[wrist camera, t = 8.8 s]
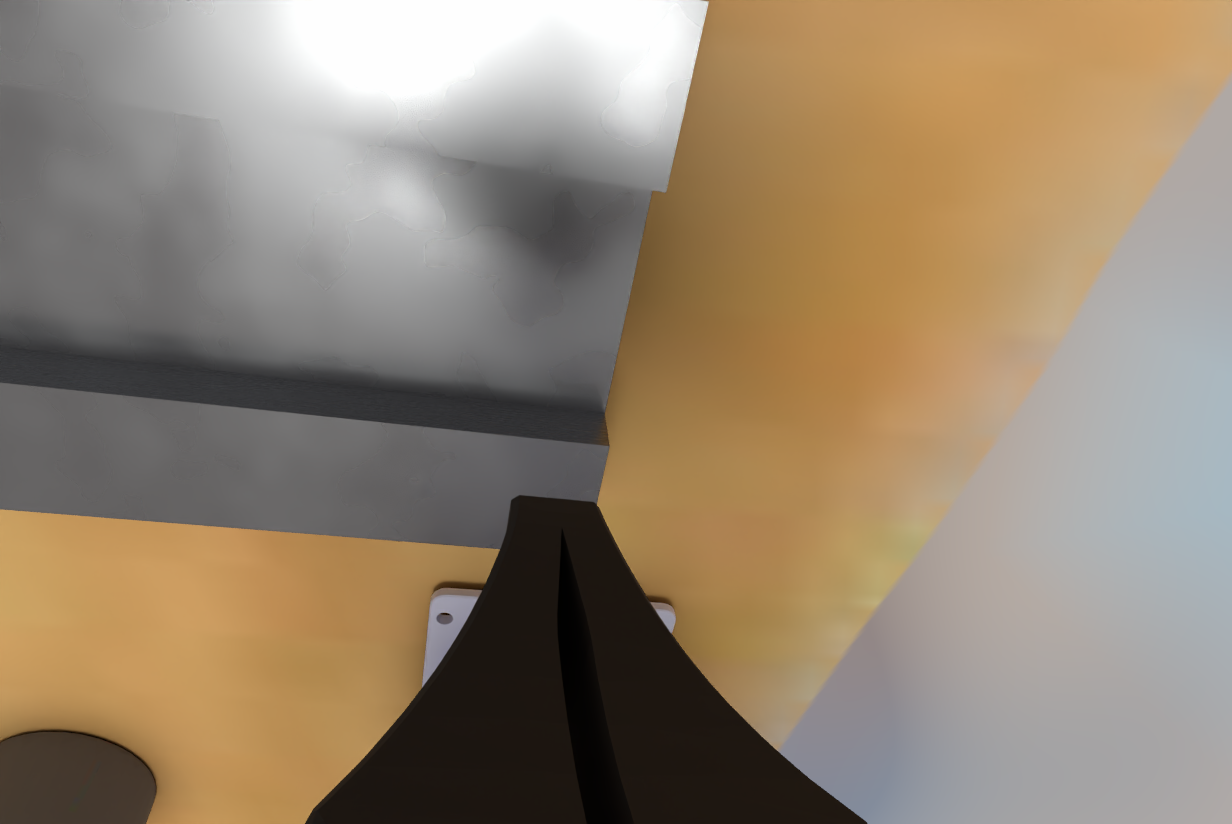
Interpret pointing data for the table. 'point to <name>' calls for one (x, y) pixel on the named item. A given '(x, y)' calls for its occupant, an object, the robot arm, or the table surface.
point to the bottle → (72, 781)
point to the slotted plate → (323, 254)
